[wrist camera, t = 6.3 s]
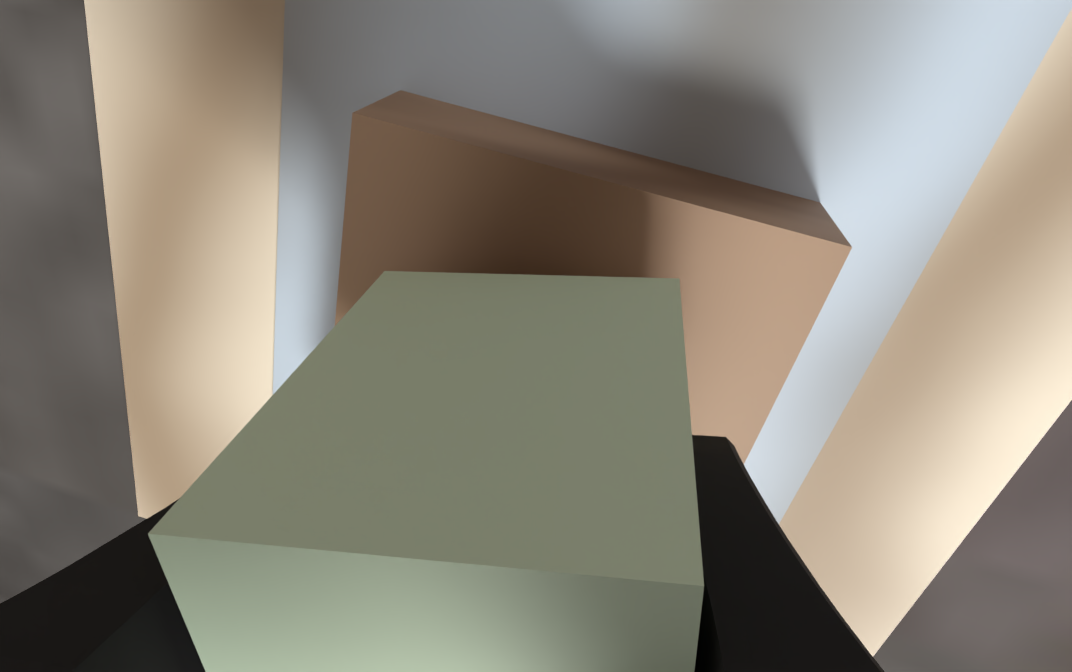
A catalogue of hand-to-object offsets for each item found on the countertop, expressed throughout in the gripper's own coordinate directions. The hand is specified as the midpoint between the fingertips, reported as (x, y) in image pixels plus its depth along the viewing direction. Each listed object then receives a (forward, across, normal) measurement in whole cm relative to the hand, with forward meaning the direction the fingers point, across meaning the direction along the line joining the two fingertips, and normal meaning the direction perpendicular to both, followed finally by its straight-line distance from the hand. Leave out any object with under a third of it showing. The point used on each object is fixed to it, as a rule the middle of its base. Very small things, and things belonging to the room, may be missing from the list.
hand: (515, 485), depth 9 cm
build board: (+5, 0, 0) cm, 5 cm away
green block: (+2, 0, 0) cm, 2 cm away
